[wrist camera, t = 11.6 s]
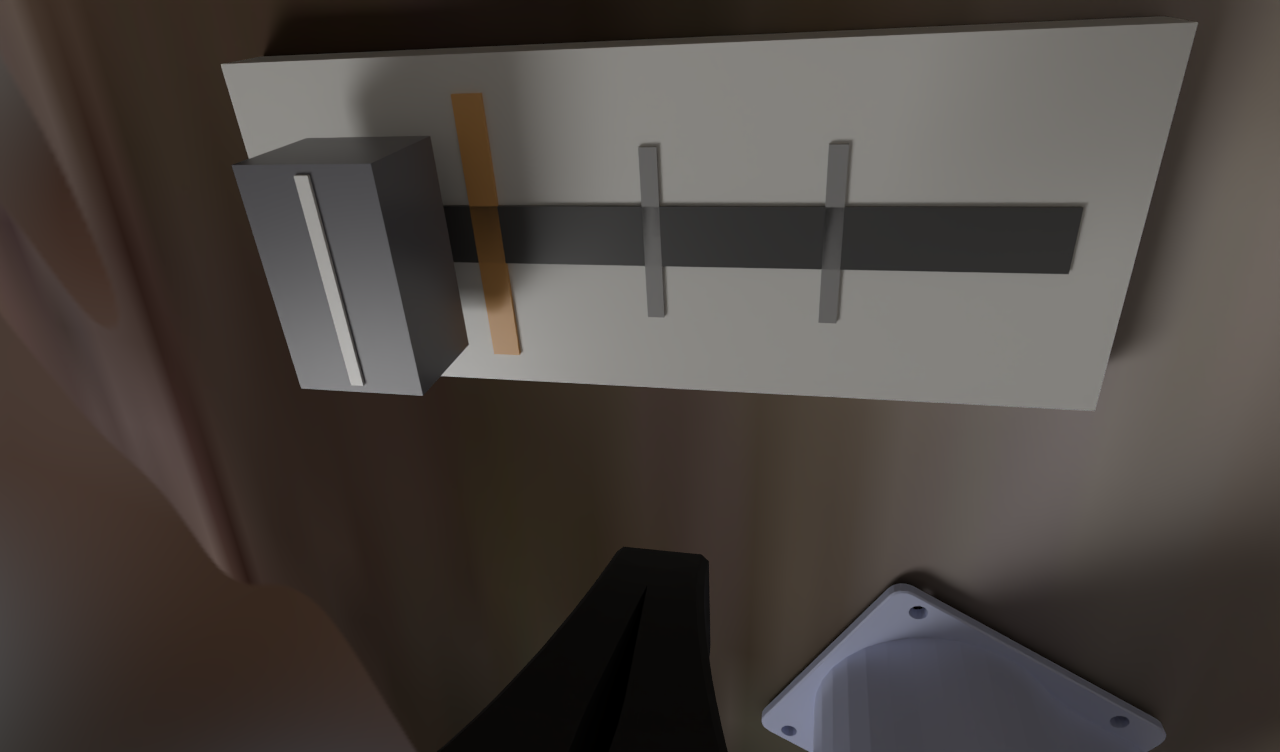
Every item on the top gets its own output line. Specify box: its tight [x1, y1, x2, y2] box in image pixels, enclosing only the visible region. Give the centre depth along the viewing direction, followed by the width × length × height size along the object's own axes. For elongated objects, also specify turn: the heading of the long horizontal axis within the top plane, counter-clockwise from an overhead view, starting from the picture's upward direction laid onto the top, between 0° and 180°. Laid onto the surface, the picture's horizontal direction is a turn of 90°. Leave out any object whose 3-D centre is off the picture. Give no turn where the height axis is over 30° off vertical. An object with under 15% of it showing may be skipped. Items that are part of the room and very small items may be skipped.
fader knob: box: [232, 136, 469, 396], centre depth 17 cm, size 3×5×4 cm, turn 4°
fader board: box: [221, 16, 1198, 411], centre depth 18 cm, size 20×8×2 cm, turn 94°
